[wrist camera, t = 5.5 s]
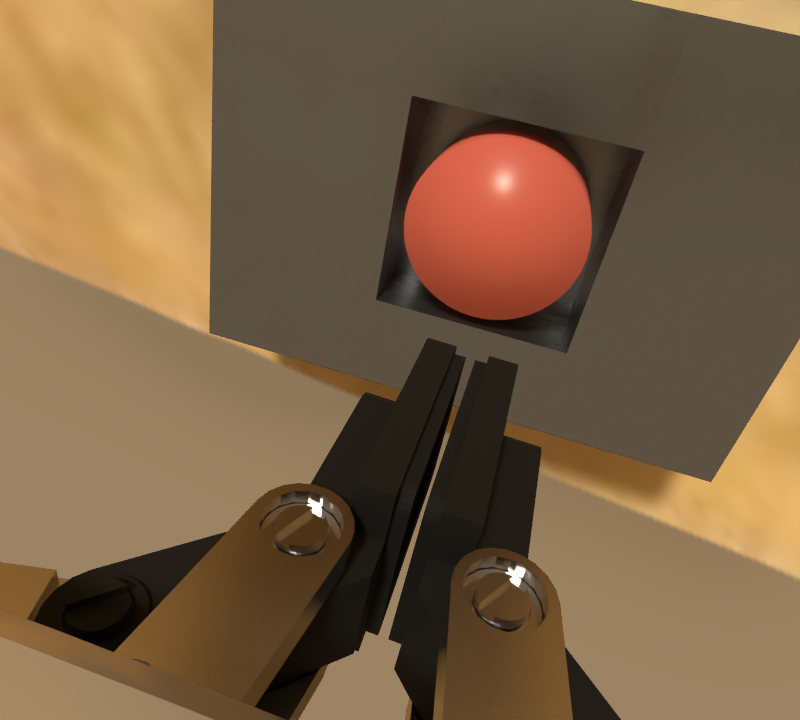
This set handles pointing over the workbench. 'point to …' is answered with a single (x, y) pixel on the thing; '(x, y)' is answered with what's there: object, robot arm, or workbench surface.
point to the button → (500, 221)
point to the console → (609, 190)
